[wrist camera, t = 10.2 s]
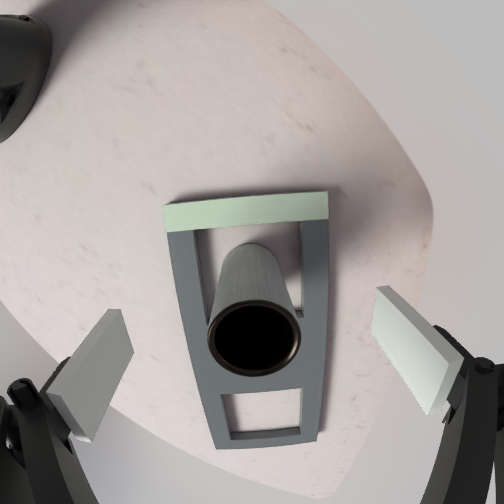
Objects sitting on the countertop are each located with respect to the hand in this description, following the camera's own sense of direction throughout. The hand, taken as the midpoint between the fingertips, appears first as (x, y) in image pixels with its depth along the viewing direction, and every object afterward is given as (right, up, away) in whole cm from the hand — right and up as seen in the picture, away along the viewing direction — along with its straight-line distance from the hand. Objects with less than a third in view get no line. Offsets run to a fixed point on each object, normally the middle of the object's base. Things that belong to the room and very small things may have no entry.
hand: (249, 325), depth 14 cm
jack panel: (+1, -6, +11) cm, 13 cm away
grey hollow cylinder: (0, +2, +9) cm, 10 cm away
